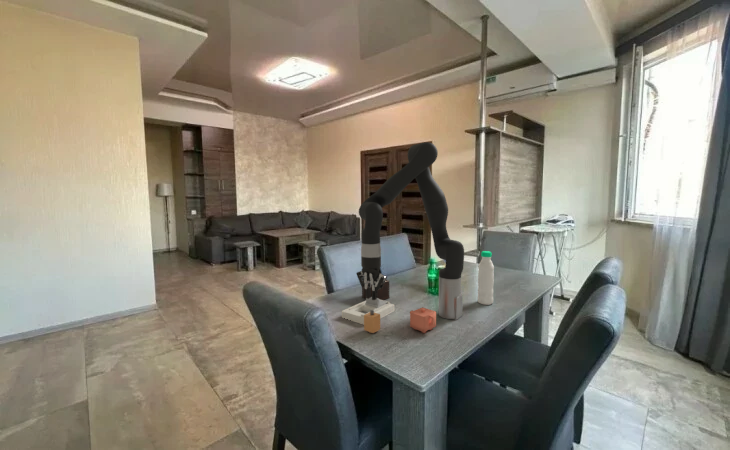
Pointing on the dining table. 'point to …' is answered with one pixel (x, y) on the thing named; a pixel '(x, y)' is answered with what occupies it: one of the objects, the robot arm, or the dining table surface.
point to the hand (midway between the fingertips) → (371, 298)
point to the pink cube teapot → (423, 319)
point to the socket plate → (366, 311)
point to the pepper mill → (379, 291)
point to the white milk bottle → (485, 279)
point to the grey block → (375, 302)
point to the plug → (372, 322)
